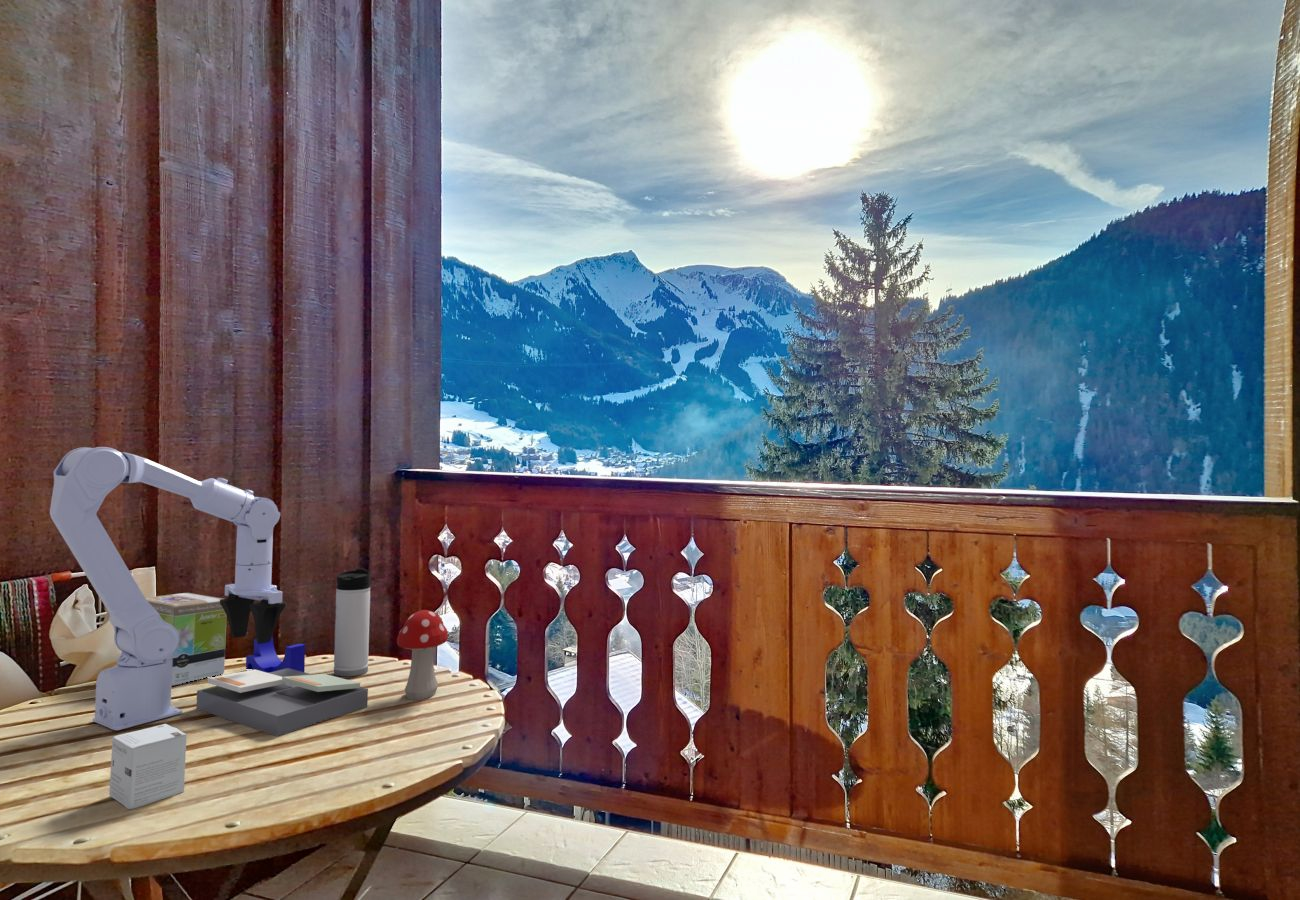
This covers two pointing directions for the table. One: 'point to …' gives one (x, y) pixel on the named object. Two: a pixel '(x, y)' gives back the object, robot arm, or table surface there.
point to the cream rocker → (246, 680)
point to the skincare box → (147, 765)
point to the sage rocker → (320, 682)
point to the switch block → (280, 704)
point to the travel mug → (352, 623)
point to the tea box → (194, 634)
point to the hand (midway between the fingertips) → (251, 639)
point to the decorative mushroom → (422, 651)
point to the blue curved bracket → (276, 658)
